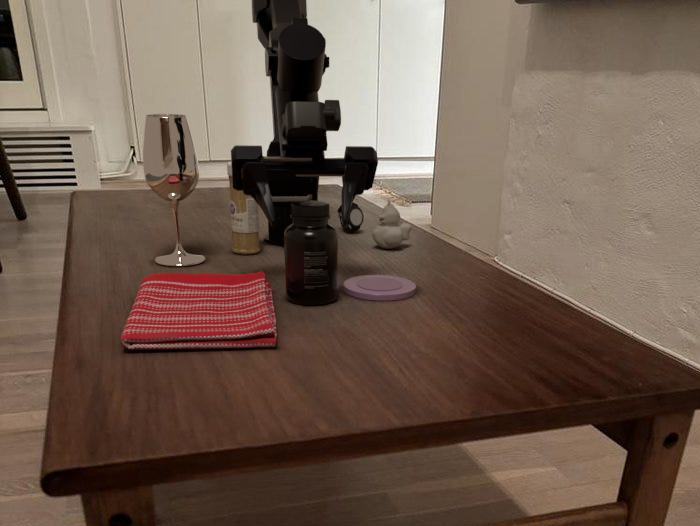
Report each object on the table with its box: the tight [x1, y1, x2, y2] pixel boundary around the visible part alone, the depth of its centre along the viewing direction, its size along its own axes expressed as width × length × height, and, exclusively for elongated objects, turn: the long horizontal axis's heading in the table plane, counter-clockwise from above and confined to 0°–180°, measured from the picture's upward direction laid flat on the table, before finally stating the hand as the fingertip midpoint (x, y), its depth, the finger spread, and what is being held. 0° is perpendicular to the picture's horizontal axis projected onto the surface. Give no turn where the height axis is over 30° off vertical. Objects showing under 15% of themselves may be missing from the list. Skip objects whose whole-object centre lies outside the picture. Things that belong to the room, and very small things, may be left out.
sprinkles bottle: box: [226, 161, 261, 256], centre depth 115 cm, size 5×5×14 cm
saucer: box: [342, 274, 417, 302], centre depth 101 cm, size 10×10×1 cm
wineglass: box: [142, 113, 206, 268], centre depth 108 cm, size 8×8×20 cm
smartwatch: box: [336, 202, 365, 233], centre depth 133 cm, size 4×5×5 cm
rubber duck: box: [372, 197, 412, 250], centre depth 122 cm, size 5×7×8 cm
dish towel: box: [119, 270, 278, 351], centre depth 89 cm, size 17×24×3 cm
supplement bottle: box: [283, 200, 339, 306], centre depth 94 cm, size 7×7×12 cm
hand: (309, 224), depth 94 cm, fingers open, 9 cm apart
